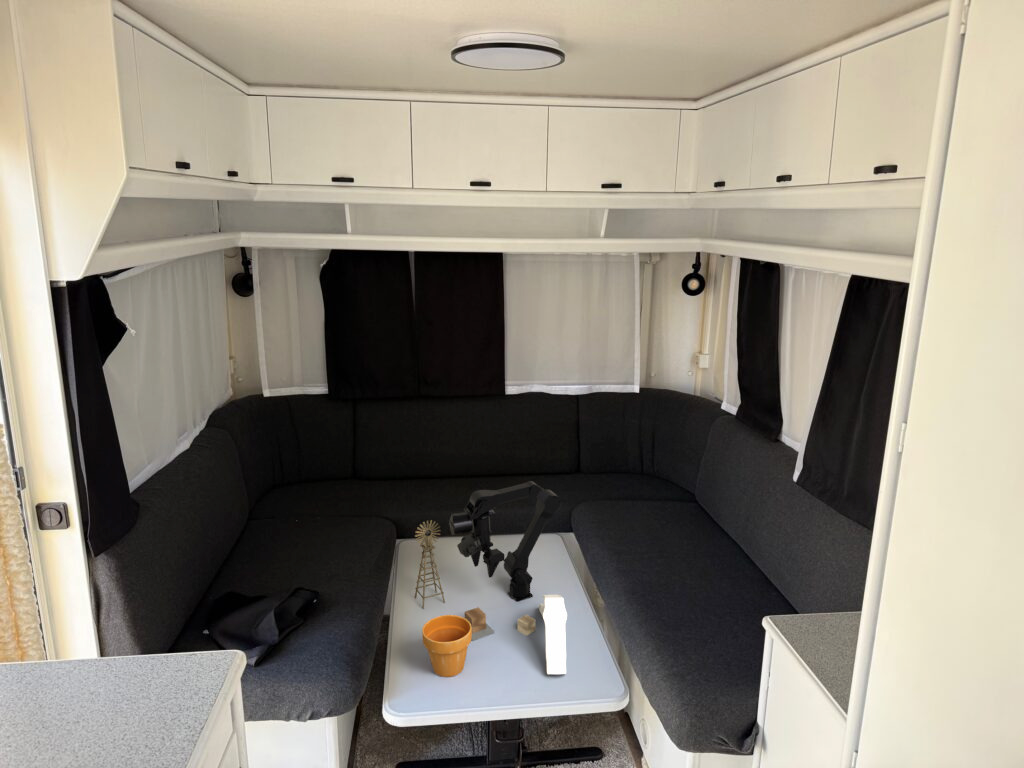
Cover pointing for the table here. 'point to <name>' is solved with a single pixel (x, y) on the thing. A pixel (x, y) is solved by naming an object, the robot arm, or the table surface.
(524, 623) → the maple cube
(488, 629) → the plate
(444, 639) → the flower pot
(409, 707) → the table surface
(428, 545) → the miniature windmill
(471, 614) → the walnut cube
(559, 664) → the white elongated block
